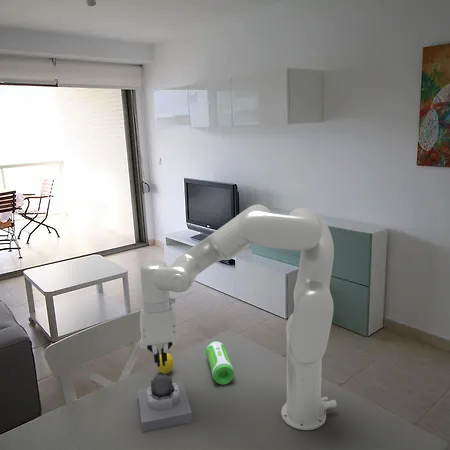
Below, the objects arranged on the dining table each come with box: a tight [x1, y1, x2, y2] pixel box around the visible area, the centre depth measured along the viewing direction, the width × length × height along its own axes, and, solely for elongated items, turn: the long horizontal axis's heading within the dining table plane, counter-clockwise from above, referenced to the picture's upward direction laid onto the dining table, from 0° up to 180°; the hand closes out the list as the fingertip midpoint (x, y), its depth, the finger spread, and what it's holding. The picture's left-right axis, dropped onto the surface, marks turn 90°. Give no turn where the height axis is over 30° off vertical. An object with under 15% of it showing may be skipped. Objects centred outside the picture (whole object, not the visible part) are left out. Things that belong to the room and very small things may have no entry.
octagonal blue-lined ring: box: [147, 381, 180, 411], centre depth 125 cm, size 9×9×4 cm
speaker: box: [205, 340, 235, 385], centre depth 145 cm, size 18×7×8 cm, turn 11°
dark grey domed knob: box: [150, 374, 173, 398], centre depth 125 cm, size 6×5×7 cm
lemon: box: [157, 352, 175, 375], centre depth 144 cm, size 6×6×8 cm
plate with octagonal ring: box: [137, 381, 193, 433], centre depth 126 cm, size 14×16×3 cm
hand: (160, 363), depth 123 cm, fingers closed
